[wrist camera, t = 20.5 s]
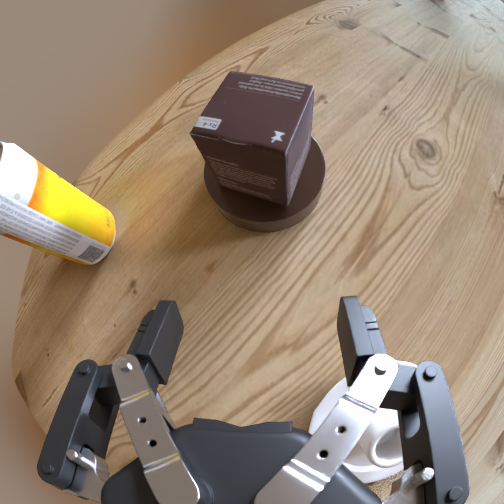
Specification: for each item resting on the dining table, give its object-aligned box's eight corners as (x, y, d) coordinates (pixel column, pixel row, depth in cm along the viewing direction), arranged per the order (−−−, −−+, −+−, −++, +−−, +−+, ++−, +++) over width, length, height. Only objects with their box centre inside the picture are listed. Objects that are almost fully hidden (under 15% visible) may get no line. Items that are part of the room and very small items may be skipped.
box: (311, 147, 22) (317, 85, 15) (288, 209, 21) (287, 157, 14) (244, 129, 23) (229, 68, 16) (215, 186, 22) (186, 132, 15)
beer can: (103, 198, 26) (4, 123, 12) (129, 235, 25) (10, 161, 10) (68, 239, 26) (-37, 188, 11) (91, 279, 24) (-35, 239, 10)
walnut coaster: (209, 235, 24) (200, 225, 21) (214, 139, 26) (207, 124, 24) (328, 229, 23) (332, 219, 20) (315, 132, 25) (317, 116, 22)
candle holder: (278, 424, 19) (275, 446, 15) (392, 329, 20) (414, 331, 16) (355, 498, 16) (364, 523, 12) (454, 415, 17) (478, 427, 13)
